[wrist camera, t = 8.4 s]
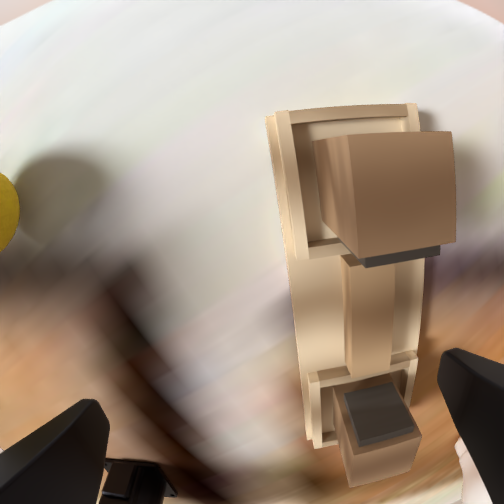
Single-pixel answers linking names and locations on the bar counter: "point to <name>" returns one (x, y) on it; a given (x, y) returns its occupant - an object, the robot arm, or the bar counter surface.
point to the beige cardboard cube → (388, 193)
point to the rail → (323, 257)
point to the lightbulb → (471, 478)
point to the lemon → (8, 211)
